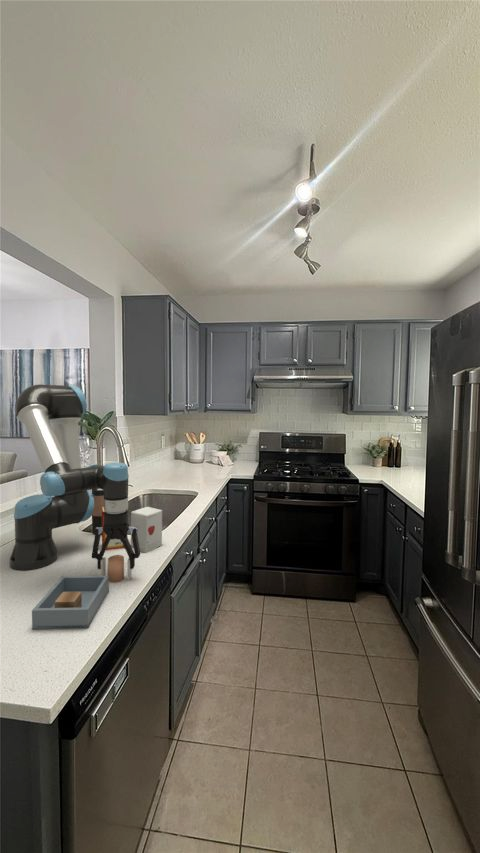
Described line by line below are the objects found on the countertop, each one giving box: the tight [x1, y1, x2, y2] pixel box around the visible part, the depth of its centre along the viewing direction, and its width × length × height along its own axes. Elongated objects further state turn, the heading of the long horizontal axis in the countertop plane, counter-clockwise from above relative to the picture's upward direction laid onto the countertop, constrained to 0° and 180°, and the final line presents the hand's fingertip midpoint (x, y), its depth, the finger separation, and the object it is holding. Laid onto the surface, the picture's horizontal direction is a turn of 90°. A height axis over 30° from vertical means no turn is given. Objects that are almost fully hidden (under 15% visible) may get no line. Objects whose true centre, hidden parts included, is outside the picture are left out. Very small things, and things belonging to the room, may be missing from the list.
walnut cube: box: [55, 592, 82, 608], centre depth 97 cm, size 5×5×5 cm
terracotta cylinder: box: [107, 554, 125, 584], centre depth 118 cm, size 5×5×7 cm
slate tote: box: [31, 575, 110, 630], centre depth 101 cm, size 14×18×5 cm
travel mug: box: [91, 488, 104, 536], centre depth 159 cm, size 8×8×20 cm
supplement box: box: [130, 506, 163, 554], centre depth 144 cm, size 9×9×15 cm
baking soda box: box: [101, 507, 128, 551], centre depth 145 cm, size 10×6×16 cm
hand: (116, 577), depth 119 cm, fingers open, 8 cm apart
